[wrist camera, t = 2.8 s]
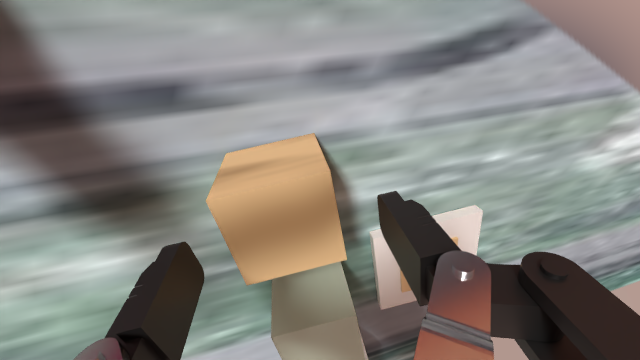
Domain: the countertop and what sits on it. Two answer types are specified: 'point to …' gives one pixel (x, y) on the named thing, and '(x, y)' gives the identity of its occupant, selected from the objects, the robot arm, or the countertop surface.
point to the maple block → (277, 209)
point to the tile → (387, 271)
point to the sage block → (315, 316)
